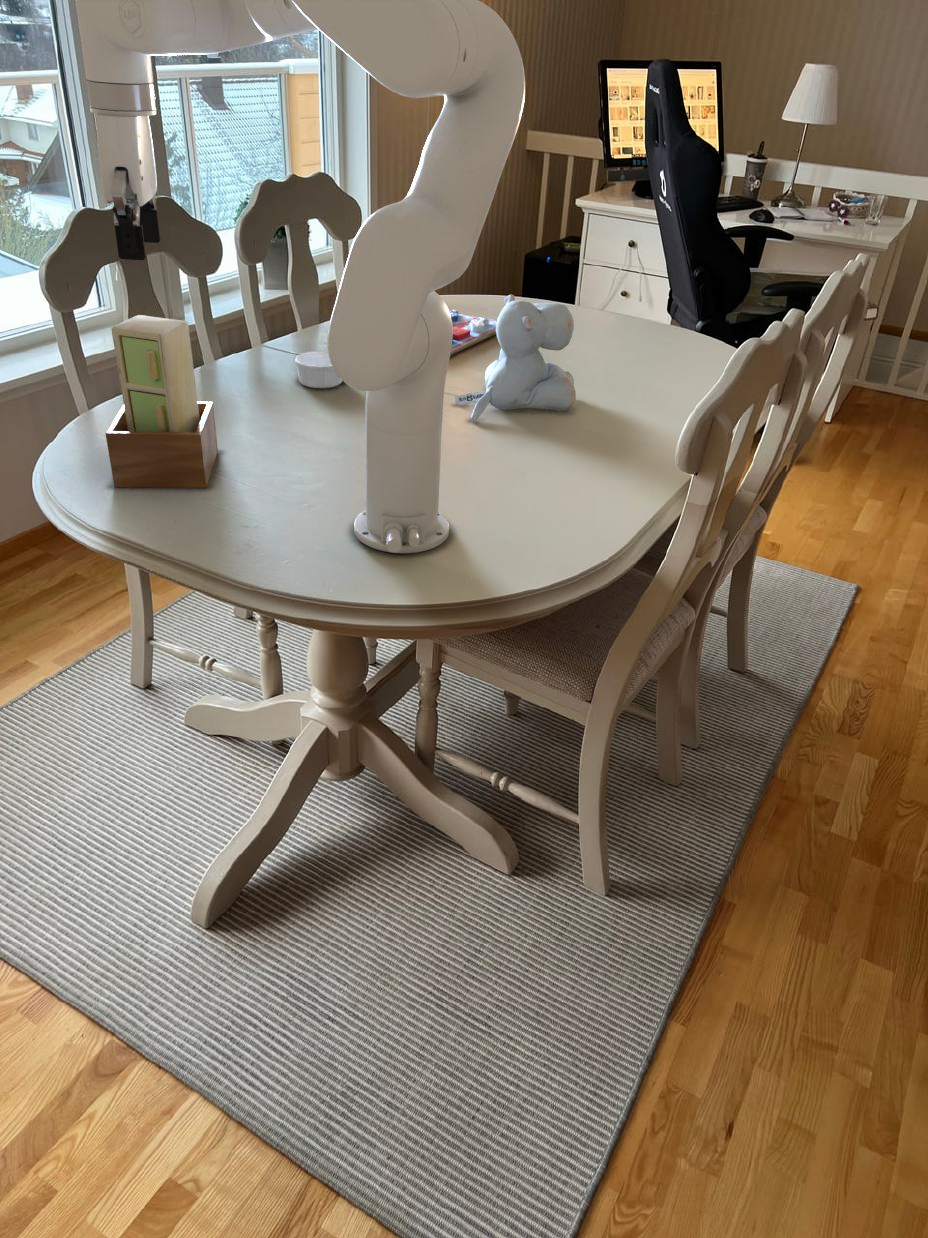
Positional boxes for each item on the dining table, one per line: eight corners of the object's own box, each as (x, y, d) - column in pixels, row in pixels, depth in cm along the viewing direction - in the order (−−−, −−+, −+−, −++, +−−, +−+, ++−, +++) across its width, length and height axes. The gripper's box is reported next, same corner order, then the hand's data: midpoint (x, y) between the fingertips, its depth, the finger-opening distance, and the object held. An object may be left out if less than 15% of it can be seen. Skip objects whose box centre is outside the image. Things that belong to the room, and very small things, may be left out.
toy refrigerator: (129, 473, 135) (107, 327, 123) (158, 455, 141) (139, 313, 129) (179, 483, 133) (160, 335, 122) (205, 463, 139) (190, 321, 128)
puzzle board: (419, 310, 215) (420, 298, 213) (507, 330, 205) (508, 318, 204) (338, 341, 192) (338, 328, 191) (432, 364, 183) (433, 351, 181)
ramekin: (291, 387, 168) (290, 364, 166) (301, 372, 175) (300, 349, 173) (340, 391, 168) (340, 367, 165) (348, 375, 175) (348, 352, 173)
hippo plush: (593, 413, 165) (607, 307, 155) (471, 423, 158) (477, 312, 148) (552, 379, 179) (563, 280, 169) (438, 386, 173) (442, 283, 163)
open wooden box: (206, 488, 132) (200, 434, 128) (114, 486, 131) (105, 432, 127) (218, 452, 143) (213, 401, 139) (132, 450, 142) (125, 399, 137)
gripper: (106, 90, 118) (125, 234, 127) (70, 104, 104) (94, 265, 113) (167, 94, 119) (181, 237, 128) (139, 108, 105) (158, 267, 114)
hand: (140, 250), depth 121 cm, fingers open, 9 cm apart
